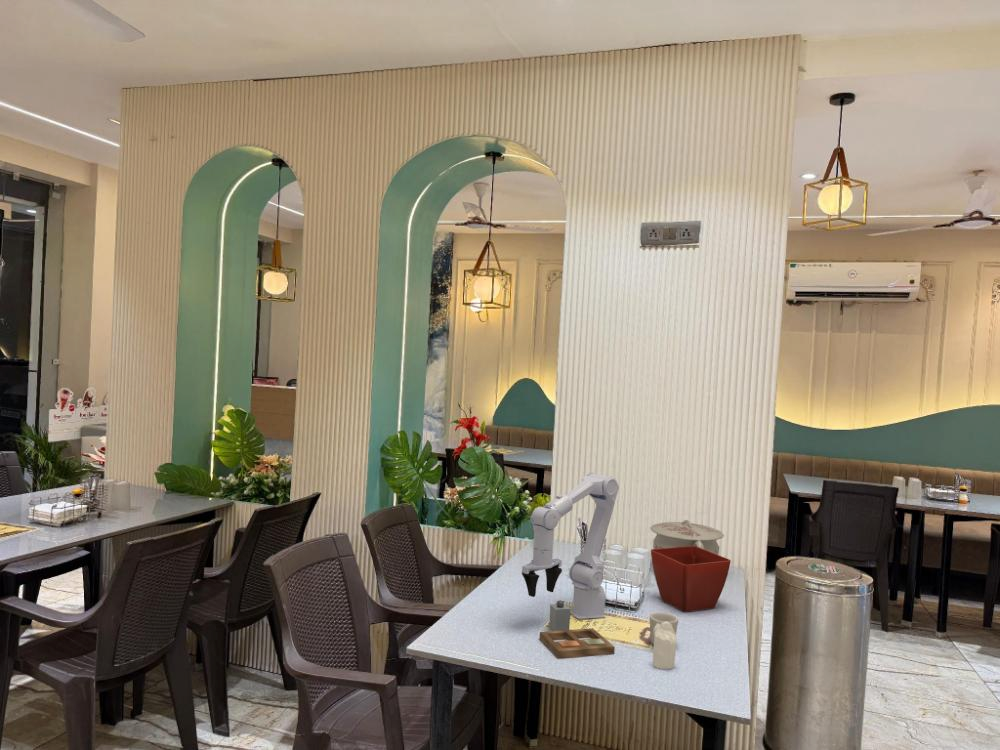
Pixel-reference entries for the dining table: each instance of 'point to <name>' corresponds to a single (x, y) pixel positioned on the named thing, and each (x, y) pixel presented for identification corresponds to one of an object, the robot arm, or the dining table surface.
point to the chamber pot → (686, 536)
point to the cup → (660, 618)
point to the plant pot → (689, 576)
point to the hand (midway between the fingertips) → (541, 593)
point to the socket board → (576, 643)
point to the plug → (559, 616)
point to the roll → (664, 647)
